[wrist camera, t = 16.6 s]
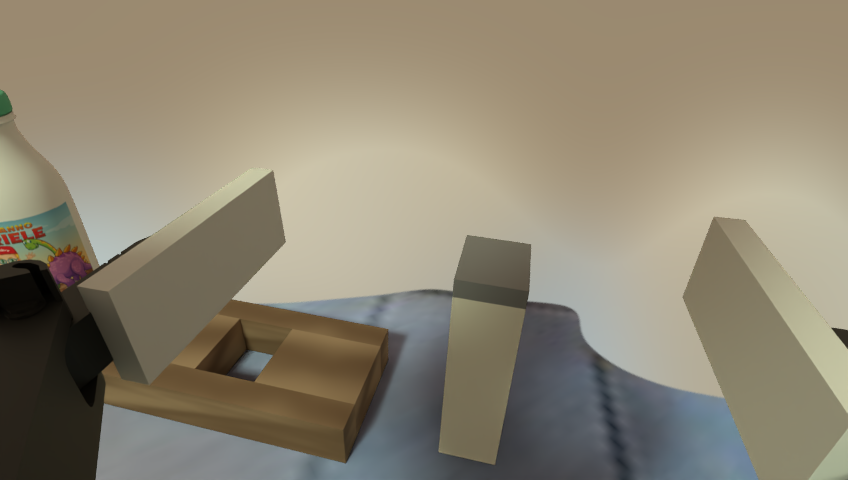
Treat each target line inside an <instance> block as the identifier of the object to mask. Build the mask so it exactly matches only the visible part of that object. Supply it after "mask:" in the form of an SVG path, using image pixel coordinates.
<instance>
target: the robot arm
mask: <svg viewBox="0 0 848 480" xmlns="http://www.w3.org/2000/svg"><path fill="white" fill-rule="evenodd" d="M285 242H286V241H285V236H284V230H283V224H282V219H281V213H280V207H279V201H278V195H277V189H276V184H275V178H274V172H273V170H268V169H258V168H251V169H249V170H248V171H246V172H245V173H244V174H242V175H241V176H239V177H238V178H236V179H235V180H233V181H232V182H230V183H229V184H227V185H226V186H224V187H223V188H221V189H220V190H218V191H217V192H216V193H214V194H212V195H211V196H210V197H208V198H207V199H205V200H204V201H202V202H201V203H199V204H198V205H196V206H195V207H193V208H192V209H190V210H189V211H187V212H186V213H184V214H183V215H181V216H180V217H178V218H177V219H175V220H174V221H172V222H171V223H169V224H168V225H167V226H165V227H164V228H162V229H161V230H159V231H158V232H156V233H155V234H153V235H152V236H149V237H147V238H144V239H142V240H140V241H138V242H136V243H134V244H133V245H131V246H130V247H128V248H127V249H125V250H124V251H122V252H121V254H120V255H119V254H118V255H116V256H115V257H113V258H112V259H110V260H109V261H108V263H104V264H103V265H101V266H100V267H98V268H97V269H95V270H94V271H92V272H91V273H89V274H88V275H86V276H84V277H83V278H81V279H80V280H78V281H77V282H75V283H74V284H72V285H71V286H69V287H68V288H66V289H65V290H63V291H62V292H61V291H60V289H59V287H58V285H57V283H56V281H55V279H54V277H53V275H52V273H51V271H50V269H49V268H48V266H47V264H46V263H44V262H43V261H41V260H31V259H28V260H20V261H14V262H10V263H6V264H2V265H0V480H95V478H96V469H97V460H98V451H99V442H100V432H101V423H102V414H103V405H104V396H105V387H106V382H105V378H104V376H103V374H102V372H101V371H102V370H104V369H105V368H106V367H107V366H108V365H109V364H110V363H111V362H112V361H113V362H114V364H115V366H116V369H117V371H118V373H119V375H120V377H121V379H123V380H128V381H132V382H137V383H141V384H146V385H150V384H151V383H152V382H153V381H154V380H155V379H156V378H157V377H158V376H159V375H160V374H161V372H162V371H163V370H164V369H165V368H166V367H167V366H168V365H169V364H170V363H171V362H172V361H173V360H174V359H175V358H176V357H177V356H178V355H179V354H180V353H181V352H182V350H183V349H184V348H185V347H186V346H187V345H188V344H189V343H190V342H191V341H192V340H193V339H194V338H195V337H196V336H197V335H198V334H199V333H200V332H201V331H202V329H203V328H204V327H205V326H206V325H207V324H208V323H209V322H210V321H211V320H212V319H213V318H214V317H215V316H216V315H217V314H218V313H219V312H220V311H221V310H222V308H223V307H224V306H225V305H226V304H227V303H228V302H229V301H230V300H231V299H232V298H233V297H234V296H235V295H236V294H237V293H238V292H239V290H241V289H242V287H243V286H244V285H245V284H246V283H247V282H248V281H249V280H250V279H251V278H252V277H253V276H254V275H255V274H256V273H257V272H258V271H259V270H260V269H261V268H262V266H263V265H264V264H265V263H266V262H267V261H268V260H269V259H270V258H271V257H272V256H273V255H274V254H275V253H276V252H277V250H279V249H280V247H281V246H283V244H284V243H285ZM683 299H684V302H685V304H686V306H687V309H688V311H689V314H690V316H691V318H692V321H693V323H694V326H695V328H696V330H697V332H698V335H699V337H700V340H701V342H702V344H703V347H704V349H705V352H706V354H707V357H708V359H709V361H710V363H711V366H712V368H713V371H714V373H715V376H716V378H717V380H718V383H719V385H720V388H721V390H722V393H723V395H724V397H725V400H726V402H727V404H728V407H729V409H730V412H731V414H732V416H733V419H734V421H735V424H736V426H737V428H738V431H739V433H740V436H741V438H742V440H743V443H744V445H745V447H746V450H747V452H748V455H749V457H750V459H751V462H752V464H753V467H754V469H755V471H756V474H757V476H758V479H759V480H848V330H844V329H837V328H830V326H829V325H828V324H827V322H826V321H825V320H824V319H823V317H822V316H821V315H820V314H819V312H818V311H817V310H816V309H815V307H814V306H813V305H812V304H811V302H810V301H809V300H808V299H807V297H806V296H805V295H804V294H803V292H802V291H801V290H800V288H799V287H798V286H797V285H796V284H795V282H794V281H793V280H792V278H791V277H790V276H789V275H788V274H787V272H786V271H785V270H784V268H783V267H782V266H781V265H780V263H779V262H778V261H777V260H776V258H775V257H774V256H773V255H772V253H771V252H770V251H769V250H768V248H767V247H766V246H765V245H764V244H763V242H762V241H761V240H760V238H759V237H758V236H757V235H756V233H755V232H754V231H753V229H752V228H751V227H750V226H749V224H748V223H747V222H746V221H745V220H739V219H730V218H719V217H714V218H713V220H712V223H711V225H710V228H709V231H708V233H707V236H706V238H705V241H704V243H703V246H702V248H701V251H700V254H699V256H698V259H697V261H696V264H695V267H694V269H693V272H692V274H691V277H690V279H689V282H688V285H687V287H686V290H685V292H684V295H683Z"/></svg>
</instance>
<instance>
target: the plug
mask: <svg viewBox="0 0 848 480" xmlns="http://www.w3.org/2000/svg"><path fill="white" fill-rule="evenodd" d="M530 259H531V244H525V243H518V242H511V241H504V240H497V239H490V238H484V237H477V236H469V235H467V237H466V240H465V244H464V247H463V251H462V254H461V258H460V261H459V265H458V268H457V271H456V275H455V278H454V286H453V297H452V309H451V320H450V331H449V342H448V353H447V364H446V375H445V386H444V397H443V408H442V419H441V430H440V441H439V452H440V453H444V454H449V455H453V456H457V457H462V458H466V459H471V460H475V461H479V462H484V463H488V464H492V465H495V462H496V457H497V452H498V447H499V442H500V437H501V432H502V427H503V422H504V417H505V412H506V407H507V402H508V396H509V391H510V386H511V381H512V376H513V371H514V366H515V361H516V356H517V351H518V346H519V341H520V336H521V331H522V325H523V320H524V315H525V310H526V305H527V300H528V295H529V283H530Z"/></svg>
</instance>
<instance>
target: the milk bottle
mask: <svg viewBox="0 0 848 480" xmlns="http://www.w3.org/2000/svg"><path fill="white" fill-rule="evenodd" d="M15 118H16V115H14V113H13V111H12V106H11V103H10V100H9V98H8V96H7V95H6V93H5V92H4V91H2V90H0V265H2V264H6V263H10V262H14V261H20V260H28V259H31V260H41V261H43V262H44V263H46V264H47V266H48V268H49V269H50V271H51V273H52V275H53V277H54V279H55V281H56V283H57V285H58V287H59V289H60V291H61V292H62V291H63V290H65V289H66V288H68V287H69V286H71V285H72V284H74V283H75V282H77V281H78V280H80V279H81V278H83V277H84V276H86V275H88V274H89V273H91V272H92V271H94V270H95V269H97V268H98V267H100V266H99V264H98V261H97V259H96V256H95V254H94V251H93V248H92V246H91V243H90V241H89V238H88V236H87V233H86V230H85V228H84V226H83V223H82V221H81V218H80V216H79V213H78V211H77V208H76V206H75V203H74V201H73V199H72V197H71V194H70V192H69V190H68V188H67V186H66V184H65V182H64V180H63V179H62V177H61V176H60V174H59V173H58V171H57V170H56V169H55V168H54V167H53V166H52V165H51V164H50V163H49V162H48V161H47V160H46V159H45V158H44V157H43V156H42V155H41V154H40V153H39V152H37V151H36V150H35V149H34V148H33V147H32V146H31V145H30V144H29V143H28V141H27V140H26V139H25V138H24V137H23V135H22V134H21V133H20V131H19V130H18V129H17V127H16V125H15V122H14V119H15Z"/></svg>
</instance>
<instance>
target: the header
mask: <svg viewBox="0 0 848 480" xmlns="http://www.w3.org/2000/svg"><path fill="white" fill-rule="evenodd" d="M246 349H247V350H252V351H257V352H262V353H266V354H271V355H273V357H272V358H271V359H270V361H269V362H268V363H267V365H266V366H265V368H264V369H263V370H262V372H261V373H260V375H259V376H258V377H257V379H256V380H255V381H254V382H252V381H248V380H243V379H239V378H234V377H230V376H225V375H226V374H227V373H228V372H229V370H230V369H231V368H232V367H233V365H234V364H235V363H236V362H237V360H238V359H239V358H240V357H241V355H242V354H243V353H244V352H245V350H246ZM387 361H388V329H385V328H379V327H374V326H369V325H364V324H358V323H353V322H348V321H343V320H337V319H332V318H327V317H321V316H316V315H311V314H306V313H300V312H295V311H290V310H285V309H279V308H274V307H269V306H264V305H258V304H253V303H248V302H242V301H237V300H232V299H231V300H230V301H229V302H228V303H227V304H226V305H225V306H224V307H223V308H222V310H221V311H220V312H219V313H218V314H217V315H216V316H215V317H214V318H213V319H212V320H211V321H210V322H209V323H208V324H207V325H206V326H205V327H204V328H203V329H202V331H201V332H200V333H199V334H198V335H197V336H196V337H195V338H194V339H193V340H192V341H191V342H190V343H189V344H188V345H187V346H186V347H185V348H184V349H183V350H182V352H181V353H180V354H179V355H178V356H177V357H176V358H175V359H174V360H173V361H172V362H171V363H170V364H169V365H168V366H167V367H166V368H165V369H164V370H163V371H162V372H161V374H160V375H159V376H158V377H157V378H156V379H155V380H154V381H153V382H152V383H151V384H150V385H146V384H141V383H137V382H132V381H128V380H123V379H121V377H120V375H119V373H118V371H117V369H116V366H115V364H114V362H113V361H112V362H111V363H110V364H109V365H108V366H107V367H106V368H105V369H104V370H102V371H101V372H102V374H103V376H104V378H105V382H106V387H105V396H104V403H105V404H109V405H113V406H117V407H121V408H125V409H129V410H134V411H138V412H142V413H146V414H150V415H154V416H158V417H162V418H166V419H170V420H174V421H178V422H182V423H186V424H190V425H194V426H198V427H202V428H206V429H210V430H214V431H218V432H222V433H226V434H230V435H234V436H238V437H242V438H246V439H250V440H254V441H259V442H263V443H267V444H271V445H275V446H279V447H283V448H287V449H291V450H295V451H299V452H303V453H307V454H311V455H315V456H319V457H323V458H327V459H331V460H335V461H339V462H343V463H346V461H347V459H348V456H349V454H350V452H351V449H352V447H353V444H354V442H355V439H356V437H357V434H358V432H359V430H360V427H361V425H362V422H363V420H364V417H365V415H366V413H367V410H368V408H369V405H370V403H371V400H372V398H373V396H374V393H375V391H376V388H377V386H378V383H379V381H380V379H381V376H382V374H383V371H384V369H385V366H386V364H387Z"/></svg>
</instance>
